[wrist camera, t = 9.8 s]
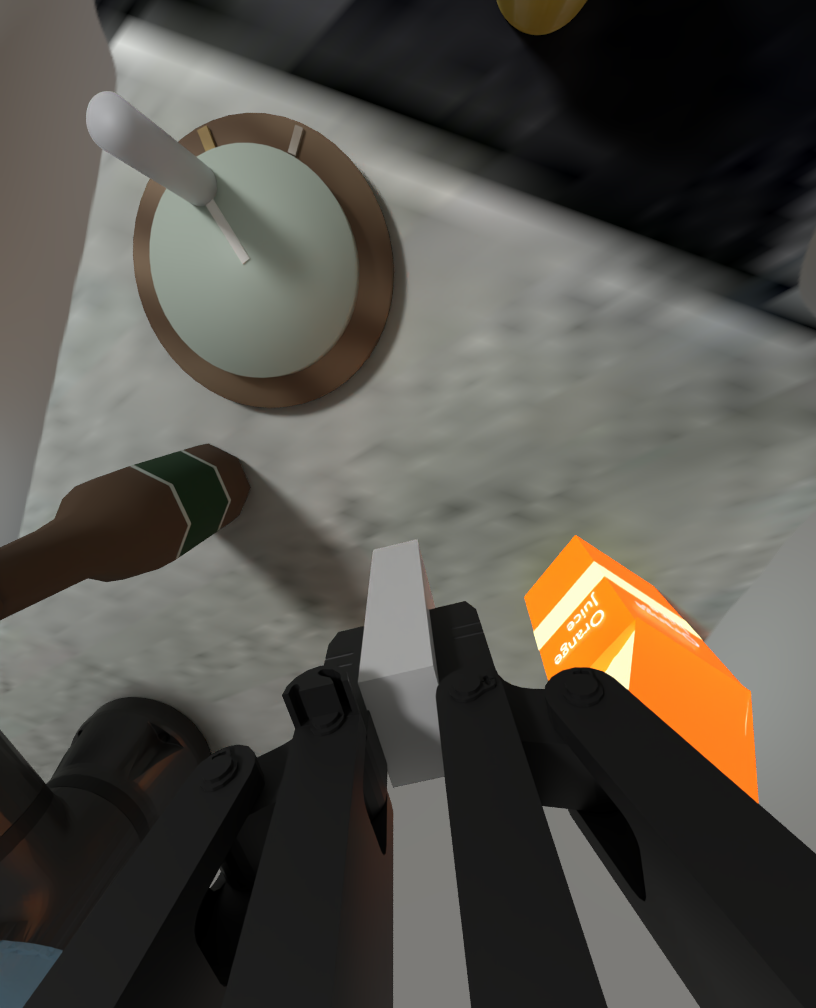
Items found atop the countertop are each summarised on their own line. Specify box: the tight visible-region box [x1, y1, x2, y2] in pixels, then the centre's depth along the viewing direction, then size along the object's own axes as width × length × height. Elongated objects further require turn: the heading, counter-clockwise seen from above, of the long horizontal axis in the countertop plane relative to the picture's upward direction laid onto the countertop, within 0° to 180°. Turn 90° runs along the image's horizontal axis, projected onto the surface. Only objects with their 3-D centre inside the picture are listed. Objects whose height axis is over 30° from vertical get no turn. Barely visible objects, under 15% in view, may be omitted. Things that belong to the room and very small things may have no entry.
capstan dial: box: [86, 91, 359, 378], centre depth 32 cm, size 16×16×11 cm
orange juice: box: [524, 535, 759, 804], centre depth 33 cm, size 8×9×20 cm
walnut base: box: [133, 113, 394, 408], centre depth 37 cm, size 21×21×2 cm
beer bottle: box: [0, 444, 250, 620], centre depth 32 cm, size 8×8×24 cm
